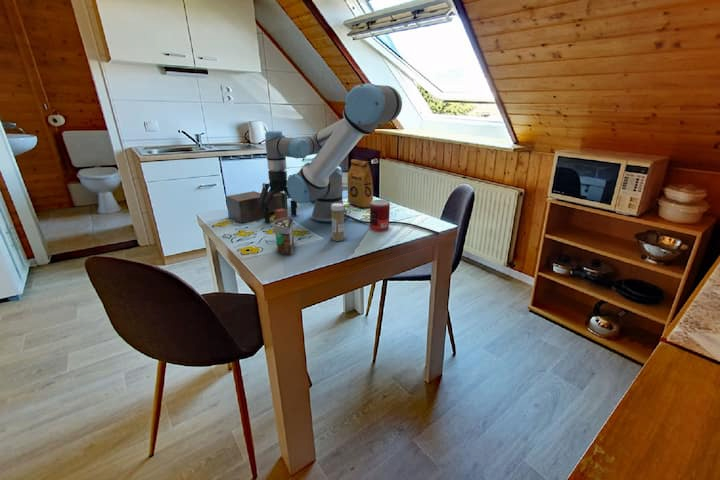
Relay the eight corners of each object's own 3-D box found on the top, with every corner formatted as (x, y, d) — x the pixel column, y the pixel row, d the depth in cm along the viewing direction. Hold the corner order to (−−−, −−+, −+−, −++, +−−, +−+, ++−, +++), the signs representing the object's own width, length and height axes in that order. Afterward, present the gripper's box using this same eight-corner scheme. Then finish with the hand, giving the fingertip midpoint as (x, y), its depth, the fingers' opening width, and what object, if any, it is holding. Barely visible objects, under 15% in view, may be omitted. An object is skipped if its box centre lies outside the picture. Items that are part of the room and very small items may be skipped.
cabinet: (256, 211, 162) (254, 191, 158) (269, 216, 154) (267, 195, 151) (228, 217, 153) (225, 196, 149) (241, 223, 145) (238, 201, 142)
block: (288, 218, 151) (287, 210, 150) (280, 220, 148) (279, 212, 147) (282, 216, 154) (282, 208, 152) (275, 218, 151) (274, 210, 150)
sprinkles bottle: (344, 241, 127) (344, 205, 122) (332, 241, 126) (331, 206, 122) (343, 236, 131) (343, 202, 126) (331, 237, 131) (330, 202, 126)
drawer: (285, 203, 172) (284, 187, 169) (298, 207, 165) (297, 191, 162) (252, 210, 160) (250, 194, 157) (264, 215, 153) (262, 198, 150)
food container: (277, 243, 125) (274, 216, 121) (294, 242, 125) (292, 216, 122) (271, 257, 113) (269, 228, 110) (290, 256, 114) (288, 227, 110)
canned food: (390, 226, 143) (392, 200, 139) (385, 232, 136) (386, 205, 132) (373, 224, 145) (373, 198, 141) (367, 230, 138) (367, 203, 134)
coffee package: (361, 209, 166) (361, 163, 158) (345, 203, 174) (344, 159, 166) (376, 205, 172) (377, 160, 164) (359, 200, 180) (360, 157, 172)
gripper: (296, 165, 154) (299, 210, 162) (245, 172, 137) (250, 222, 145) (306, 167, 149) (309, 214, 157) (255, 175, 133) (260, 227, 140)
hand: (281, 218), depth 151 cm, fingers open, 13 cm apart
